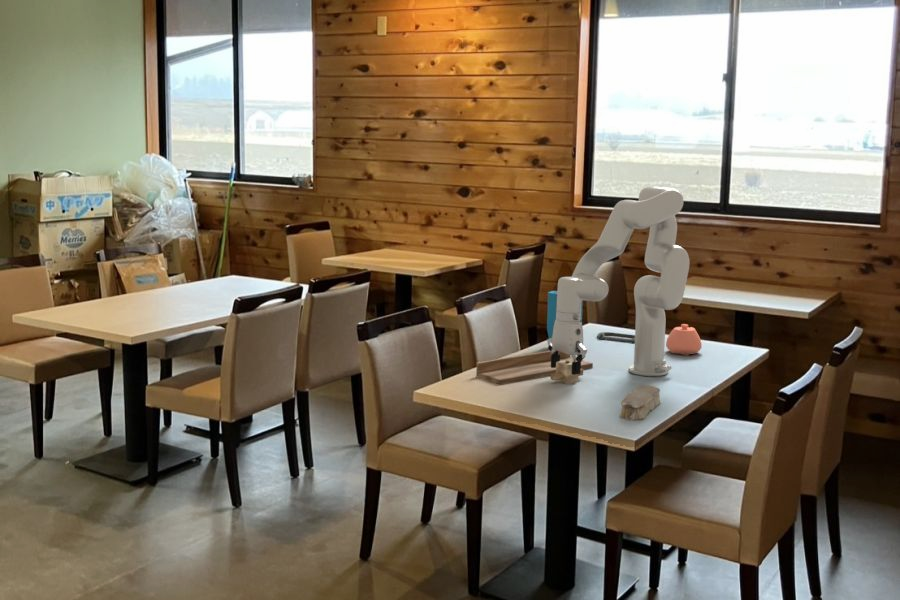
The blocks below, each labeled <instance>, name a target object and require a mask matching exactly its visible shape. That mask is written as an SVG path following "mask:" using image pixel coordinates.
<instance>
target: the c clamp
mask: <svg viewBox="0 0 900 600" xmlns="http://www.w3.org/2000/svg"><path fill="white" fill-rule="evenodd" d="M597 338H598V340H600V341H602V340H607V341H612V342H613V341H615V342H624V343H631V344H635V334H630V333H629V334H627V333H619V332H611V331H610V332H609V331H606V332H605V331H603V332H598V333H597Z"/></svg>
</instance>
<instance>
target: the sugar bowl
mask: <svg viewBox="0 0 900 600" xmlns="http://www.w3.org/2000/svg"><path fill="white" fill-rule="evenodd" d="M700 337H701V336H700V335H699V334H698V332H697V330H696V328H695V327H692V326H690V327H689V324H686V323H682V324H680V326H675V327H674V328H673V329H672V330H671V331H670V333H669V335H668V337H667V338H666V341H665V342H666V343H665V346H666V348H667V350H668V351H669V352H670V353H672V354H682V355H683V356H687V357H688V356H690V355H692V354H697V353H699V351H701V349H702V345H703V344H702V341H701V338H700Z"/></svg>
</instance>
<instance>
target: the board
mask: <svg viewBox="0 0 900 600" xmlns="http://www.w3.org/2000/svg"><path fill="white" fill-rule="evenodd" d="M558 355H560V361H565V360H570V361H573V358H572V356H571V355H569V354H565V353H562V352H560V353H559V354H558ZM573 362H574V361H573ZM593 367H594V364H593V362H590V361H585V360H583V361H582V362H581V369H583V370H588V369H592V368H593ZM551 373H556V368H551V355H550V350H546V351H540V352H534V353H528V354H522V355H514V356H509V357H508V356H507V357H503V358H498V359H490V360H485V361H484V360H483V361H479V362H476V377H478V378H480V379H483V380H485V381H489V382H491V383H493V384H497V385H506V384H511V383H515V382H517V383H518V382H522V381H526V380H527V381H528V380H532V379H539V378H543V377H549V376H550V377H551Z"/></svg>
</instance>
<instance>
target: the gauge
mask: <svg viewBox="0 0 900 600" xmlns="http://www.w3.org/2000/svg"><path fill="white" fill-rule="evenodd" d="M572 362H573V361H570V360H565V361H559V362H556V373H551V375H550V380H552V381H554V382H555V381H556V382H559V383H563V384H565V385H566V384H567V385H568V384H573V383H578V382H579V377H580V376H584V369H581V371H580V374H575V375H573V374H572Z"/></svg>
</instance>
